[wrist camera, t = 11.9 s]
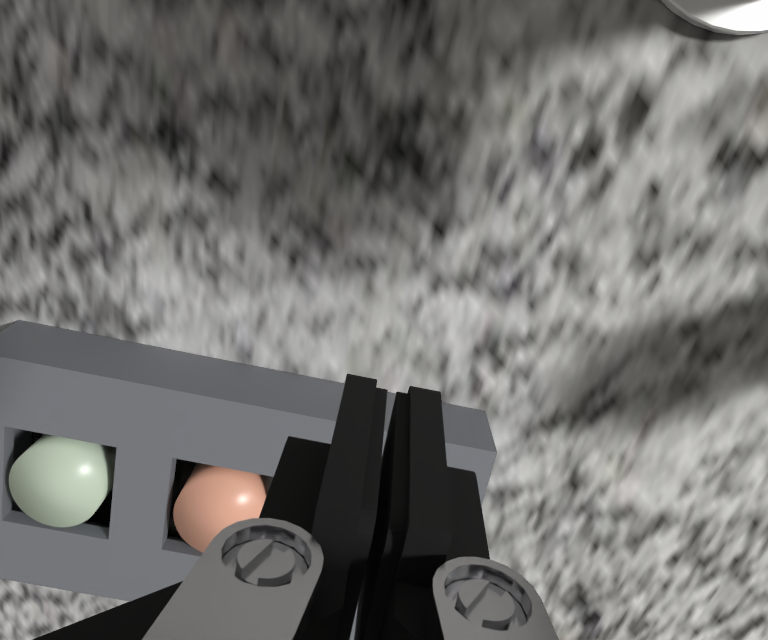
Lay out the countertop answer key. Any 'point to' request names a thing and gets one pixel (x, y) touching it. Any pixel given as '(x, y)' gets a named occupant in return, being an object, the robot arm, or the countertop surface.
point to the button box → (158, 446)
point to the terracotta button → (217, 502)
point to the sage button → (62, 480)
